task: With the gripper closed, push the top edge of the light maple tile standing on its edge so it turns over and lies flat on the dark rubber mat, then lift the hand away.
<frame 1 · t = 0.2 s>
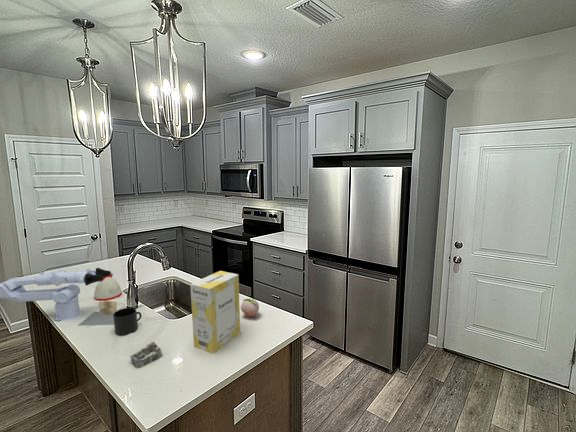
hand: (106, 275, 153), 21 cm above the counter, tool horizontal, fingers open, 7 cm apart
cream dome: (108, 296, 179), on the counter
grey rough flat block: (147, 359, 122), on the counter
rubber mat: (104, 318, 153), on the counter
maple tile: (108, 313, 157), resting on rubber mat
decorative fruit: (250, 316, 155), on the counter
mug: (129, 329, 144), on the counter
pasta box: (218, 339, 135), on the counter
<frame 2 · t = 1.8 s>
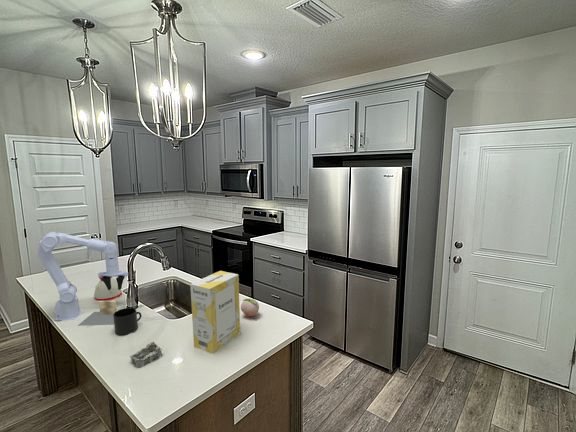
hand: (114, 289, 163), 10 cm above the counter, tool pointing down, fingers open, 5 cm apart
nothing on the counter moved.
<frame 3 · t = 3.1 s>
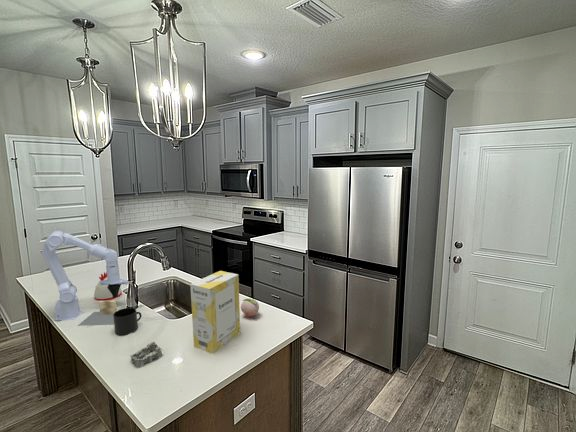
hand: (115, 297, 164), 6 cm above the counter, tool pointing down, fingers closed
nothing on the counter moved.
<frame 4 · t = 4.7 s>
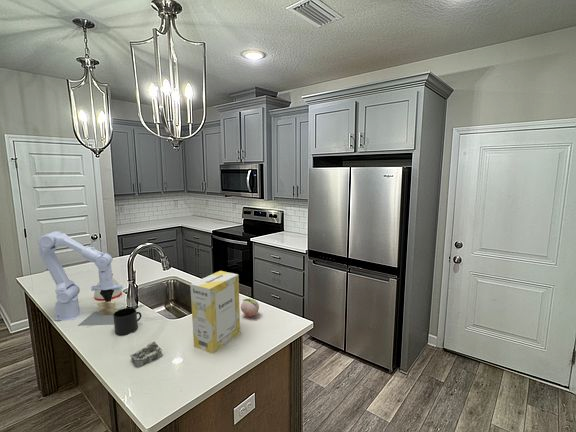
hand: (108, 303, 157), 6 cm above the counter, tool pointing down, fingers closed
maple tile: (108, 313, 157), point 1 cm above the counter, tilted 10°, touching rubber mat
everything else where it was.
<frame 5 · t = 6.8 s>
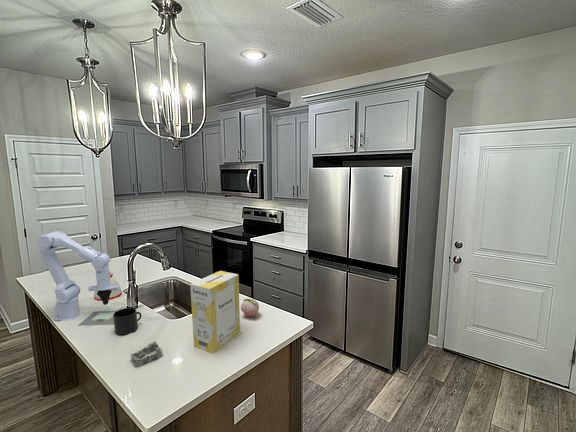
hand: (105, 303, 155), 7 cm above the counter, tool pointing down, fingers closed
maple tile: (108, 313, 156), point 1 cm above the counter, tilted 90°, touching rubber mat
everything else where it was.
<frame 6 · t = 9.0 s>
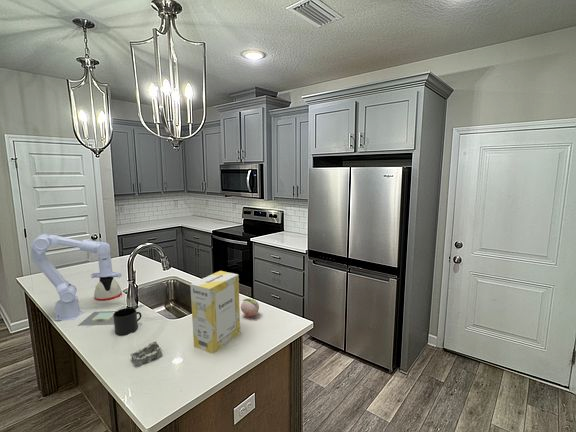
hand: (108, 290, 162), 10 cm above the counter, tool pointing down, fingers closed
nothing on the counter moved.
at the end: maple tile tilted 90°; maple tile inside the target area on the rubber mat (4.3 cm from its centre), point 1.0 cm above the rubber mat's base; the gripper is holding nothing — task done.
